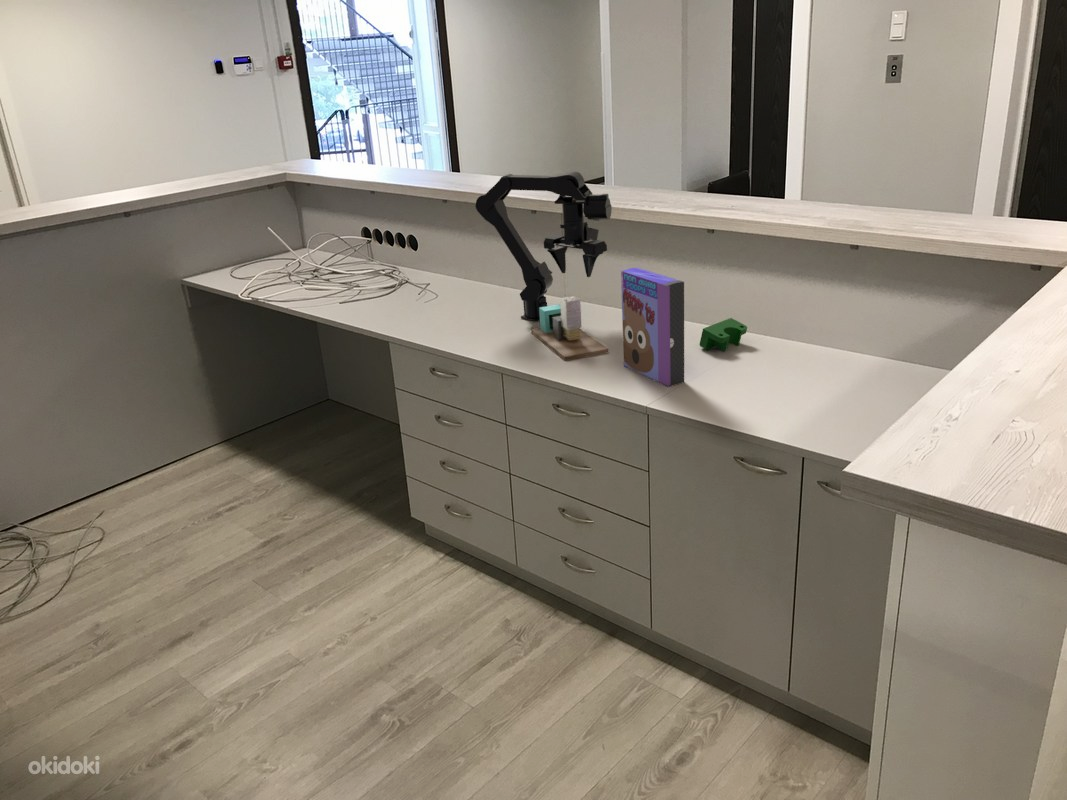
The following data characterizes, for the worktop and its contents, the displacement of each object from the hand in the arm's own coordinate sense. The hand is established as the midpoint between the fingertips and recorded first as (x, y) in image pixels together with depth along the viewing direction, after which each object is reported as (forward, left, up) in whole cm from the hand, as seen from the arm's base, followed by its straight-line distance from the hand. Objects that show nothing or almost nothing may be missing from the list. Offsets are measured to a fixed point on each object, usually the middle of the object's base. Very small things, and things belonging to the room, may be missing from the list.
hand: (576, 274), depth 247 cm
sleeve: (+9, -16, -12) cm, 22 cm away
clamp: (+47, +1, -13) cm, 49 cm away
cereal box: (+43, -24, -13) cm, 51 cm away
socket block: (+2, -13, -12) cm, 17 cm away
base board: (+10, -17, -13) cm, 23 cm away
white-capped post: (+8, -16, -11) cm, 21 cm away
